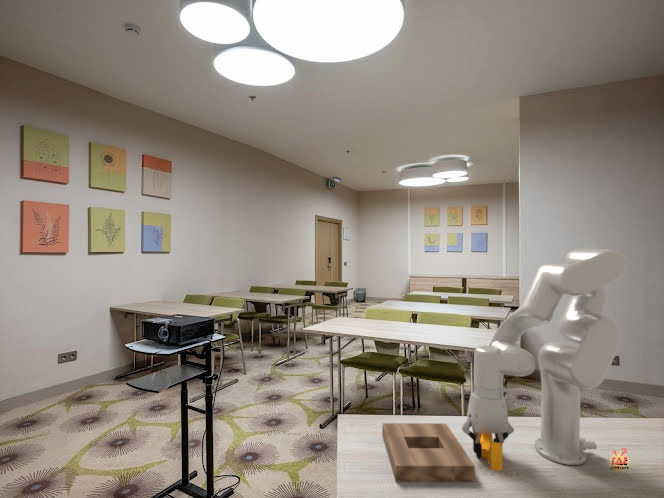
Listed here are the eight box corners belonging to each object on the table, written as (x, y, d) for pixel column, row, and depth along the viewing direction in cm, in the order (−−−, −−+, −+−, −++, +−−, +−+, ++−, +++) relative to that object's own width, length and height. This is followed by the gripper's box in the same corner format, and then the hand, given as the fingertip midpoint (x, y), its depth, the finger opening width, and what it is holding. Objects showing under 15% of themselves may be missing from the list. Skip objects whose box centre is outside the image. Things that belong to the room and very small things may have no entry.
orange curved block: (474, 445, 109) (474, 423, 109) (489, 446, 109) (489, 424, 108) (484, 469, 97) (485, 445, 97) (502, 470, 97) (502, 446, 97)
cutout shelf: (446, 436, 114) (446, 423, 114) (474, 481, 92) (474, 465, 92) (382, 436, 114) (382, 423, 114) (395, 481, 92) (395, 465, 92)
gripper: (511, 385, 107) (510, 447, 107) (453, 385, 107) (453, 447, 107) (525, 396, 99) (524, 463, 100) (463, 396, 99) (462, 463, 99)
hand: (487, 454), depth 103 cm, fingers closed on orange curved block, 4 cm apart
